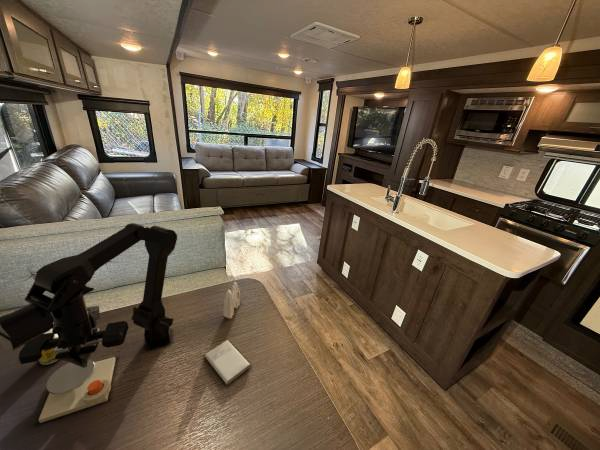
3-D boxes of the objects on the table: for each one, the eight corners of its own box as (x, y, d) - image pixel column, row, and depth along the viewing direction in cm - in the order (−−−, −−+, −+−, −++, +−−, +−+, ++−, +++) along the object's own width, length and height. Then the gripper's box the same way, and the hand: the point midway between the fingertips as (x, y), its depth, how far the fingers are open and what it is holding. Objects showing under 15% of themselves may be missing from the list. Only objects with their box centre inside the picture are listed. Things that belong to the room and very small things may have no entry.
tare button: (103, 382, 66) (102, 378, 65) (101, 392, 63) (99, 388, 63) (90, 386, 64) (88, 382, 64) (87, 396, 62) (85, 392, 61)
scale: (118, 358, 75) (116, 351, 74) (109, 402, 64) (107, 394, 63) (59, 375, 69) (56, 367, 68) (38, 425, 58) (34, 418, 57)
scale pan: (98, 355, 72) (98, 354, 72) (90, 385, 64) (89, 384, 64) (55, 367, 68) (54, 365, 68) (40, 400, 60) (39, 399, 60)
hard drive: (226, 385, 70) (205, 357, 78) (250, 367, 76) (227, 342, 83) (226, 382, 70) (204, 353, 77) (250, 363, 75) (227, 339, 83)
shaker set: (231, 322, 92) (230, 298, 87) (220, 320, 92) (219, 297, 88) (241, 301, 103) (241, 279, 98) (232, 299, 103) (231, 277, 99)
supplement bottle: (50, 367, 71) (38, 342, 67) (34, 363, 71) (22, 338, 68) (69, 351, 75) (60, 327, 72) (55, 347, 76) (45, 323, 72)
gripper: (128, 288, 66) (136, 333, 71) (35, 300, 59) (52, 348, 64) (117, 317, 56) (127, 366, 62) (4, 335, 49) (28, 388, 55)
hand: (85, 365), depth 61 cm, fingers closed
